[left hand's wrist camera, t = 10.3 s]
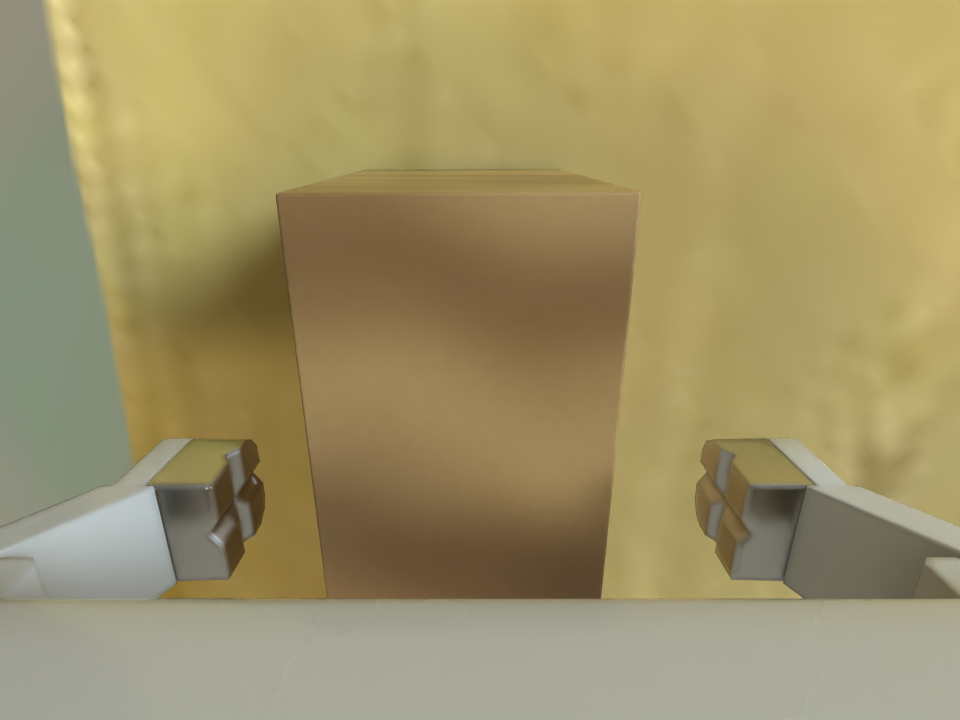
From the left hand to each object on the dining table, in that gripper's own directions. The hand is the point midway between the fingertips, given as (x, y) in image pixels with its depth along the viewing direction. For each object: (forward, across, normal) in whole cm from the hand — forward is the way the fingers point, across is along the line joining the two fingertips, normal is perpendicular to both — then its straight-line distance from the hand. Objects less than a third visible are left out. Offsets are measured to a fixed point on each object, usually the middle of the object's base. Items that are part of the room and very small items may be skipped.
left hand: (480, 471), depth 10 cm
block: (+8, 0, -33) cm, 34 cm away
